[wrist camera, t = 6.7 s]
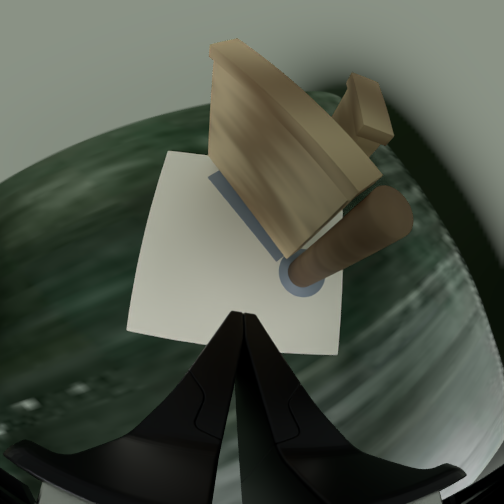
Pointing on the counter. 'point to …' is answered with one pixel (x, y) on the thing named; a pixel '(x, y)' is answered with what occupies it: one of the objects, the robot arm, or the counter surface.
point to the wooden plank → (371, 207)
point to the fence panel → (280, 148)
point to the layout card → (223, 267)
